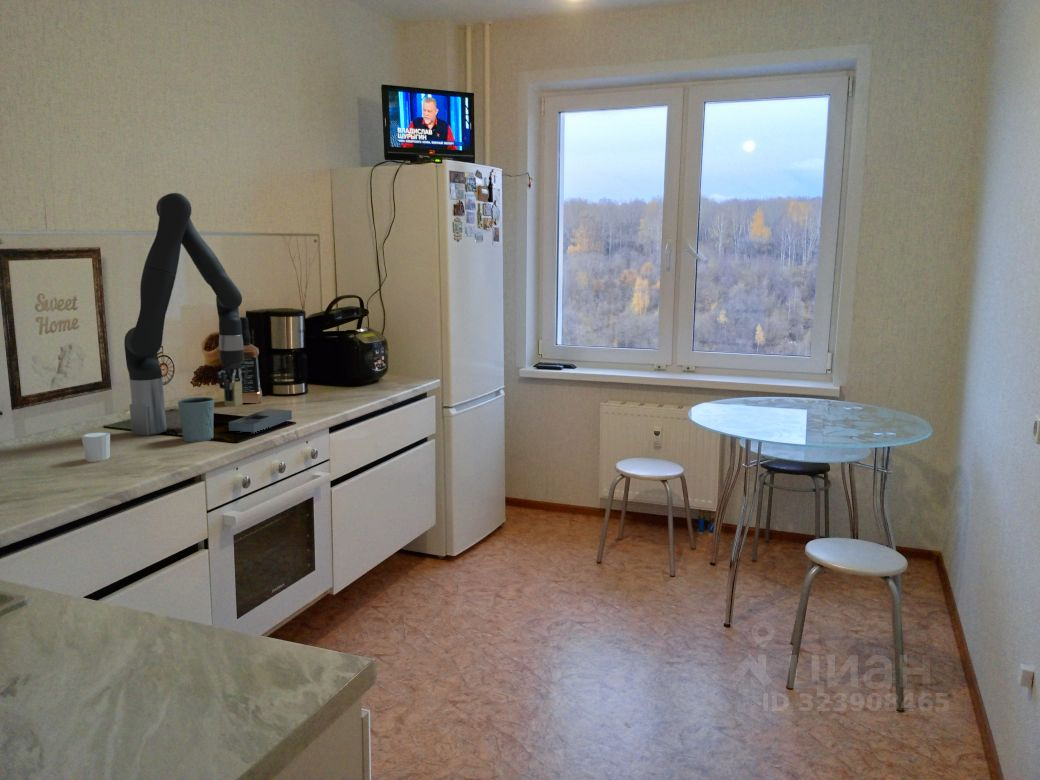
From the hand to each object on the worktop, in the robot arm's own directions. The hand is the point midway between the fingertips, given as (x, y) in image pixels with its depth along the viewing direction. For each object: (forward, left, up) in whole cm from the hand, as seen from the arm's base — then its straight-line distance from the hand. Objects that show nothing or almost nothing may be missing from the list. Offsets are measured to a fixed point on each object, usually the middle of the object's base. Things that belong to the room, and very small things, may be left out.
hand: (233, 399), depth 258 cm
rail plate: (-2, -11, -8) cm, 14 cm away
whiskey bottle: (+32, +17, -8) cm, 37 cm away
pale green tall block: (0, 0, -2) cm, 2 cm away
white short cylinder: (-51, +8, -8) cm, 52 cm away
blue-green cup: (-23, -3, -8) cm, 24 cm away
